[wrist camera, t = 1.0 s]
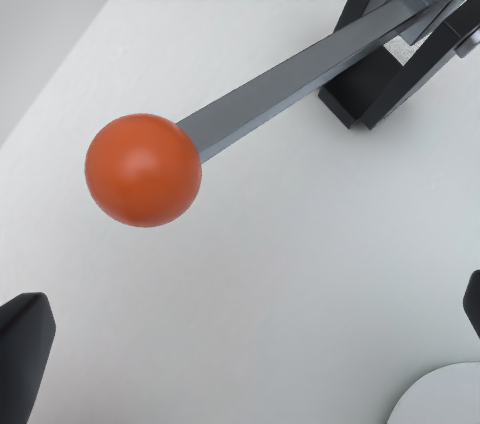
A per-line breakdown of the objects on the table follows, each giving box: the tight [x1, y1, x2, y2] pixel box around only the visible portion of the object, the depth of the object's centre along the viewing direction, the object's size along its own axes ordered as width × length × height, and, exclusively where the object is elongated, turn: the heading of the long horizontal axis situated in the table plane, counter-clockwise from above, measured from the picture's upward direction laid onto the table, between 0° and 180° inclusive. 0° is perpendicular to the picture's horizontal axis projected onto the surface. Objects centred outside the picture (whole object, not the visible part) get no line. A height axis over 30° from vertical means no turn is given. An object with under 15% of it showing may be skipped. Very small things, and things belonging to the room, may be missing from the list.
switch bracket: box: [318, 0, 480, 130], centre depth 19 cm, size 5×6×10 cm
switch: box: [85, 0, 464, 228], centre depth 13 cm, size 18×3×3 cm, turn 130°
